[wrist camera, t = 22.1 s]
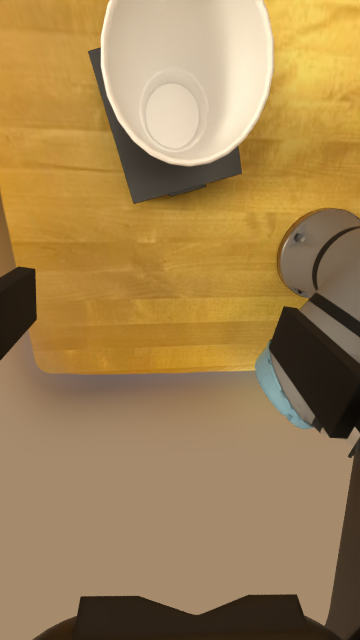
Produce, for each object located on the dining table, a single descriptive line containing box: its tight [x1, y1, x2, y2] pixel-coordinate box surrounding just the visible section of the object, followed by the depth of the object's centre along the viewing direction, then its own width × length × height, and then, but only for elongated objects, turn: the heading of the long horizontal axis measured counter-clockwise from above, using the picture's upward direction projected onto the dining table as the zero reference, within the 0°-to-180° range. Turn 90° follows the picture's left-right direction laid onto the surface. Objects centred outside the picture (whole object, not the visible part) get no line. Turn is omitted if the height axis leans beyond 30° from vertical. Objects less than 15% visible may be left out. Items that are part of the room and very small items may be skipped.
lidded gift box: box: [88, 48, 242, 204], centre depth 37 cm, size 16×15×7 cm
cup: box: [101, 0, 274, 167], centre depth 26 cm, size 12×12×16 cm
